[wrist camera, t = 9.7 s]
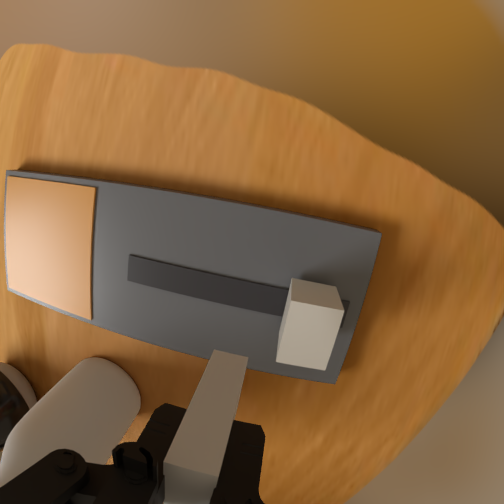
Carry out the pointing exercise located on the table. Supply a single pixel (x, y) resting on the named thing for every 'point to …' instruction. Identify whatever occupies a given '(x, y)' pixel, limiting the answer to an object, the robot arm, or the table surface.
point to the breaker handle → (309, 324)
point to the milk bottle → (75, 418)
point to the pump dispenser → (13, 400)
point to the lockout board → (179, 264)
